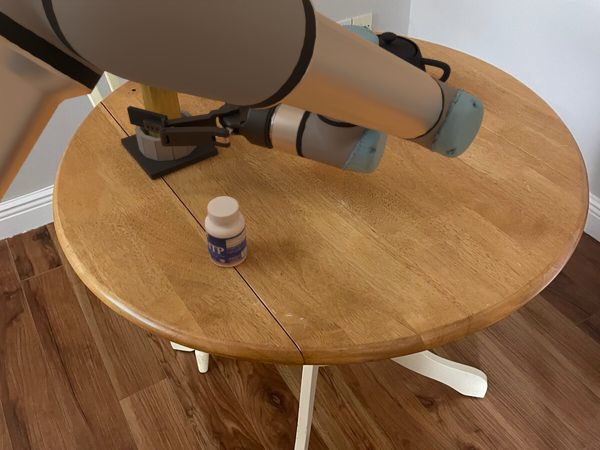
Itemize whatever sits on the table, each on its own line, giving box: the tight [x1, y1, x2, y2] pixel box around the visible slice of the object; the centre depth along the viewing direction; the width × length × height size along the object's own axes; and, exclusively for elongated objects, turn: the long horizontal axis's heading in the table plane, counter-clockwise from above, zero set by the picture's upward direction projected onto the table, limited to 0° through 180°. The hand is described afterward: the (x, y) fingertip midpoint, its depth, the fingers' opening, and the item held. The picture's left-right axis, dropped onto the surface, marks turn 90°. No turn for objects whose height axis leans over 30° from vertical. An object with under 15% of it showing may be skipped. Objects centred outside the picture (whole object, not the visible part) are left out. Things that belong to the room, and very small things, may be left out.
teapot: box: [376, 31, 452, 83], centre depth 107 cm, size 25×16×12 cm, turn 70°
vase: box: [140, 84, 182, 138], centre depth 93 cm, size 6×6×14 cm
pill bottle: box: [204, 195, 248, 268], centre depth 77 cm, size 5×5×9 cm
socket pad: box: [120, 109, 219, 181], centre depth 96 cm, size 12×12×5 cm
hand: (156, 93), depth 91 cm, fingers open, 13 cm apart
